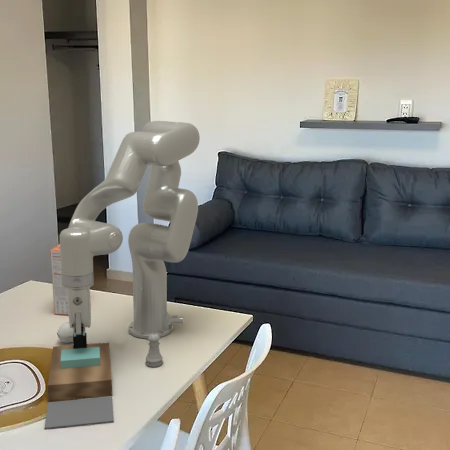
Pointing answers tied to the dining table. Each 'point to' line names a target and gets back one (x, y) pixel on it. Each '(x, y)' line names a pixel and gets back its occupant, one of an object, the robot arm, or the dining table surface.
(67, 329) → the white sphere
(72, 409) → the mat
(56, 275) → the cracker box
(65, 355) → the teal rectangular block
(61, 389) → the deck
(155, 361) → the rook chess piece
